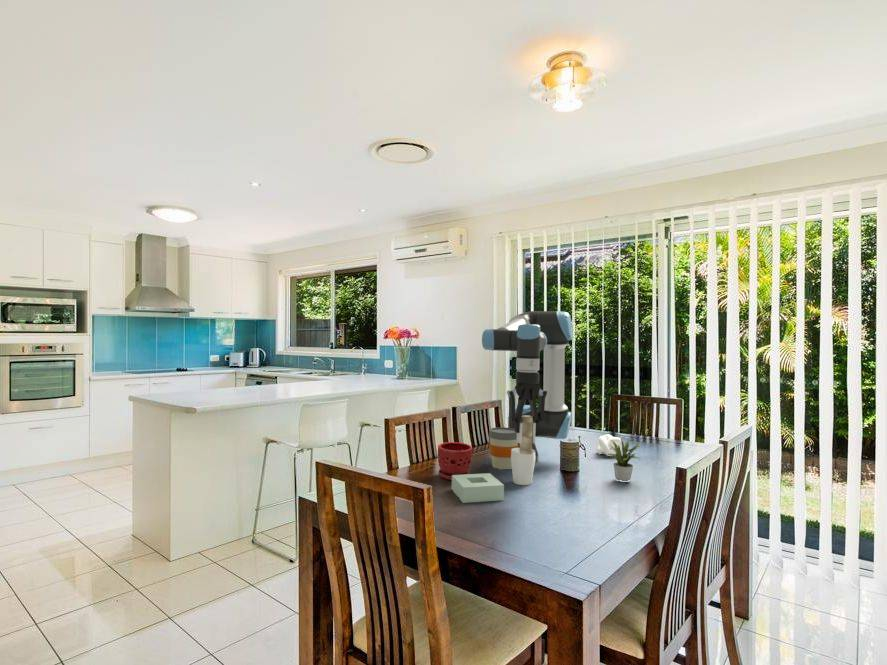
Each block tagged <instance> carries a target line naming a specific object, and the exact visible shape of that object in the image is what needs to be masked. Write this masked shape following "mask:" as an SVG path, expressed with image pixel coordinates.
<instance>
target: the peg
mask: <svg viewBox="0 0 887 665" xmlns="http://www.w3.org/2000/svg"><path fill="white" fill-rule="evenodd" d="M520 423H522V424H523V427H522V444H520V454H525V455H529V454H532V428H533V417H532V416H522V417H521V421H520Z"/></svg>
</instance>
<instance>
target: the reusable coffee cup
mask: <svg viewBox="0 0 887 665" xmlns="http://www.w3.org/2000/svg"><path fill="white" fill-rule="evenodd" d="M488 438H489V444H488V447H489V454H490V455H491V466H492V467H493V468H494V469H496V468H498V469H497V470H502V469H509V470H512V465H511V450H512V449H513V448H518V446H519V445H518V442H517V433H516V432H515V431H514V429H513V428H508V427H502V426H501V427H491V428H489V431H488Z"/></svg>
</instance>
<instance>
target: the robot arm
mask: <svg viewBox="0 0 887 665" xmlns="http://www.w3.org/2000/svg"><path fill="white" fill-rule="evenodd" d="M573 330H574V329H573V324H572V317H571V315H570V314H569V312H568V311H567V312H566V311H561V310H560V311H559V310H556V311H555V310H548V311H547V310H544V311H543V310H541V311H539V310H532V311H525V312H522V313H520V314H517V315H515V316H513V317H511V318H510V319H509V321H508V322H507V323H505V324H503V325H501V326H500V327H499V328H495V329H493V328H486V329H484V330H483V332H482V335H481V345H482V347H483V350H486V351H493V352H494V351H501V352H502V351H504V352H505V351H506V352H516V362H515V363H516V364H515V366H516V367H515V369H516V370H517V371H516V373H515V386H514V388H513V389H511V390H507V391H506V393H507V396H508V417H507V419H508V420H507V423H508V424H507V428H513V429H514V431H515V432H516V433H517V442H518V445H519V446H518V448H520V444H522V427H523V424H522V423H520V421H521V417H522V416H532V417H533V428H532V449H533V450H535V458H536V459H535V463H537V462H539V453H538V449H537V445H536V438H547V439H554V440H565V439H567V438H568V436H569V434H570V428H571V424H572V415H573V413H572V412H571V411H569V408H568V407H569V406H567V405H566V404H565V372H566V371H565V368H566V366H565V362H566V360H565V359H566V358H565V356H566V355H565V351H566V347H567V346H568V345H569V344H570V343H569V341H571V340H573V335H574V334H573V332H574V331H573ZM541 351H543V389H541V388H540V372H538V371H540V362H541V361H540V359H541V358H540V357H541V356H540V355H541V354H540V352H541ZM516 395H517V396H518V397H517V404H516ZM537 395H538V399H537ZM527 400H528V403H529V404H525V403H526V401H527Z"/></svg>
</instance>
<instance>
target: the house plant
mask: <svg viewBox="0 0 887 665" xmlns="http://www.w3.org/2000/svg"><path fill="white" fill-rule="evenodd" d="M620 439H621V442H622V443H621V444H622V450H620V447H619V446H617V445H616V444H615V443H614V442H613V441H612V440H611V441H612V443H613V444H614V447H615V449H614V448H613V446H612V445H611V447H612V448H613V449H614V450H615V452H616V455H615V454H607V455H612V456H614V457H613V458H615V460H616V462H614V463H613V471H614V478H616V479H617V480H622V481H628V480H630V479H631V478H632V474H633V470H634V465H633V464H632V463H630V460H631V459H633V460H632V461H634V459H638V460H640V458H642V457H640V456H639V457H638V456H636V455H637V454H638V452H634V451H635V450H638V448H639V447H641V446H642V443H639V444H636V445H634V446H633V447H632V448H630V449H629V447H630V440H629V439H627V440H626V442H625V444H624V442H623V439H622V438H620ZM608 444H609V443H608ZM609 445H610V444H609ZM633 452H634V453H633ZM607 455H606V456H607ZM632 461H631V462H632ZM616 479H615V480H616ZM631 480H632V479H631ZM631 480H630V481H631Z"/></svg>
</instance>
